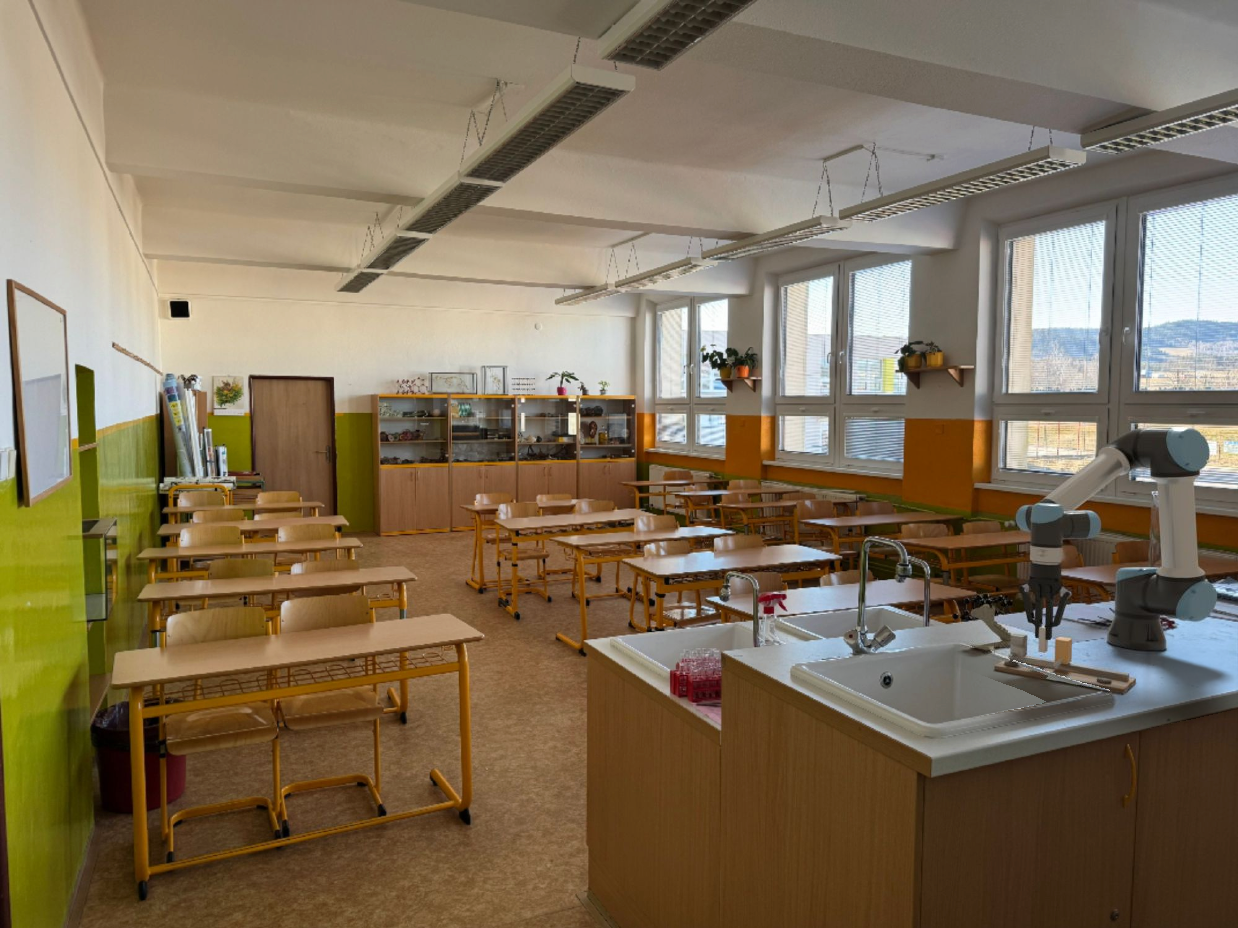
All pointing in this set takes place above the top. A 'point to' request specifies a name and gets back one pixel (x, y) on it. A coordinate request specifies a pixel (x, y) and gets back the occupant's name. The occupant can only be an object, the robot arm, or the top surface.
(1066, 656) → the block
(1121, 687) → the gauge board
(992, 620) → the jawbone
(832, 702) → the top surface
